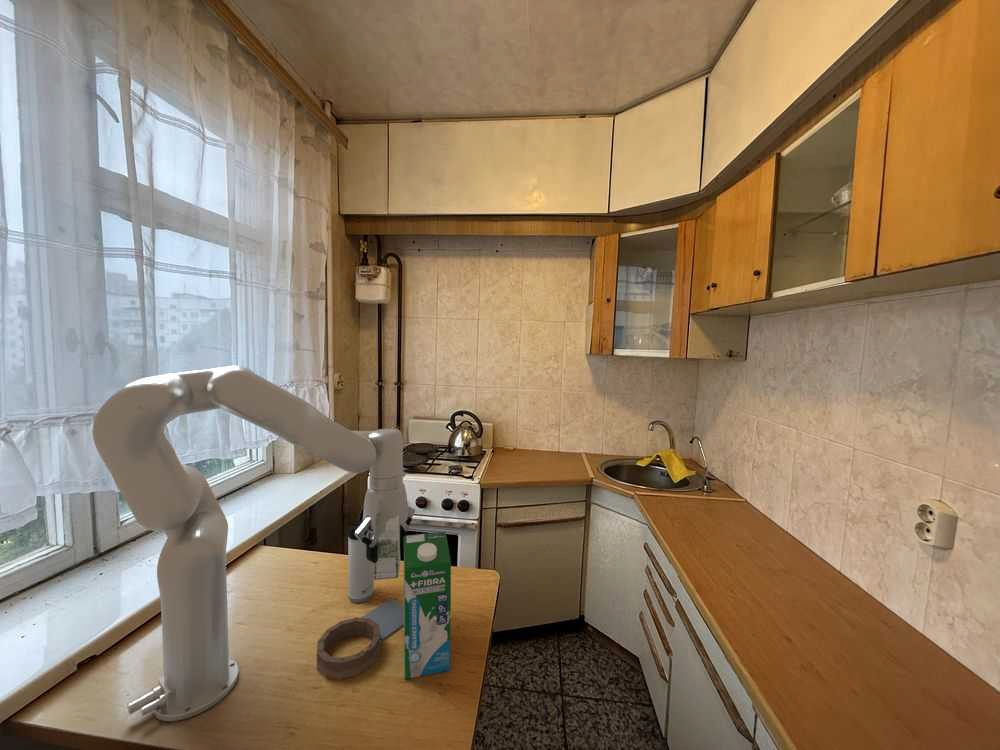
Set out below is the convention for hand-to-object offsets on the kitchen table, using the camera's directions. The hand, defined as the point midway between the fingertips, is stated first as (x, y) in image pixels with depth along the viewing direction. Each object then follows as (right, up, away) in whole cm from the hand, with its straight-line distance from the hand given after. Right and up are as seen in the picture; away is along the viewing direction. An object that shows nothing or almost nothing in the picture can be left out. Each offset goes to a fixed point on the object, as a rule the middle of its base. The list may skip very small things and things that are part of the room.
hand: (387, 552), depth 90 cm
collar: (-5, -17, -10) cm, 20 cm away
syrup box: (0, -5, 0) cm, 5 cm away
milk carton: (+12, -17, -11) cm, 23 cm away
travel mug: (-9, -16, +9) cm, 21 cm away
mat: (0, -16, +1) cm, 16 cm away
